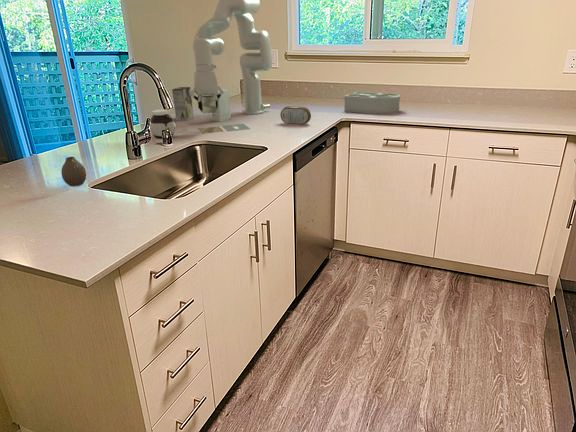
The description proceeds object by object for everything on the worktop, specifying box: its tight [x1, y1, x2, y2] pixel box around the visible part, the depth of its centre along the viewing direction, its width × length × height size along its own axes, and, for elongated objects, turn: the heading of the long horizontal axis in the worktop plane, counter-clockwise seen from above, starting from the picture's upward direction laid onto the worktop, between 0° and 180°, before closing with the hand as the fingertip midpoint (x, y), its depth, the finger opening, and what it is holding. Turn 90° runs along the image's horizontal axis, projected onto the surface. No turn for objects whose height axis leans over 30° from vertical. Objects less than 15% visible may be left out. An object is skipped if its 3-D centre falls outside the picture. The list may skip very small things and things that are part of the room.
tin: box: [280, 105, 312, 126], centre depth 212 cm, size 15×3×8 cm, turn 71°
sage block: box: [200, 95, 216, 114], centre depth 199 cm, size 6×6×7 cm
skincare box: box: [211, 88, 232, 122], centre depth 223 cm, size 8×7×16 cm
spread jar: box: [149, 109, 177, 140], centre depth 196 cm, size 12×11×12 cm
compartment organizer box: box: [343, 91, 401, 115], centre depth 238 cm, size 17×28×9 cm, turn 59°
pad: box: [197, 126, 225, 134], centre depth 204 cm, size 10×12×1 cm
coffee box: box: [172, 86, 195, 122], centre depth 230 cm, size 9×6×16 cm
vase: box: [61, 156, 87, 187], centre depth 137 cm, size 7×7×9 cm
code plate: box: [221, 123, 251, 132], centre depth 208 cm, size 11×14×1 cm
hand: (208, 109), depth 200 cm, fingers closed on sage block, 6 cm apart
